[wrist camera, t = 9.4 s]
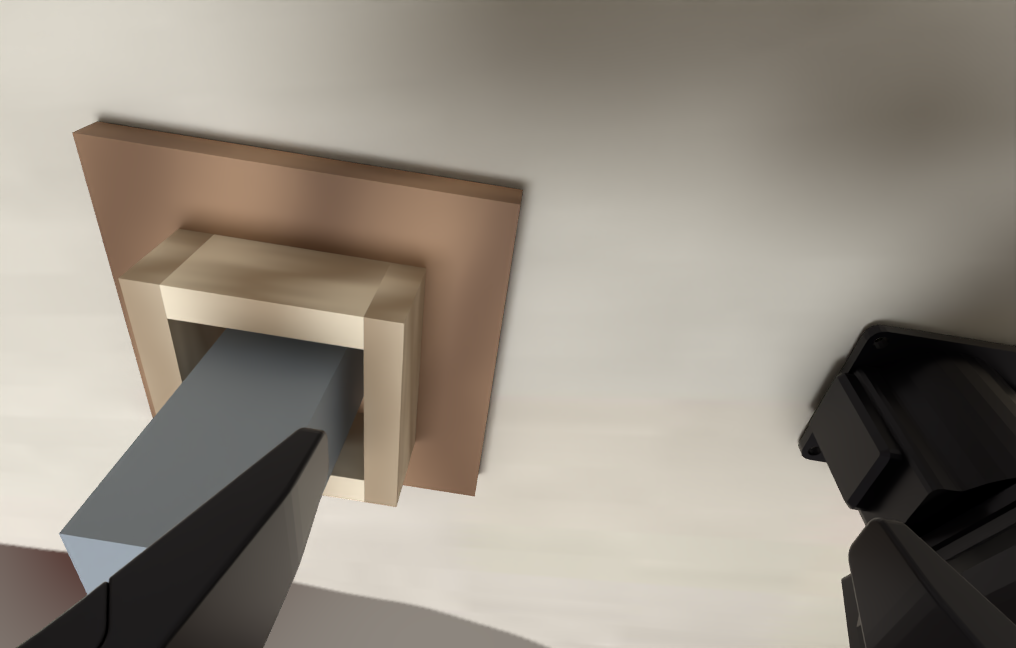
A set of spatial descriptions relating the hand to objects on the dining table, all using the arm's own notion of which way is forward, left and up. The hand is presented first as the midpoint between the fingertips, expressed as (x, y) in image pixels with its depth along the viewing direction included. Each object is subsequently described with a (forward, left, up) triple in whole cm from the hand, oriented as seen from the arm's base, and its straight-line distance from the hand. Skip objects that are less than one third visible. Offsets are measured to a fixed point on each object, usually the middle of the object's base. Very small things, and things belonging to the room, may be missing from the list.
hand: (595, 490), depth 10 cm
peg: (+9, +7, -11) cm, 16 cm away
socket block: (+9, +7, -12) cm, 17 cm away
